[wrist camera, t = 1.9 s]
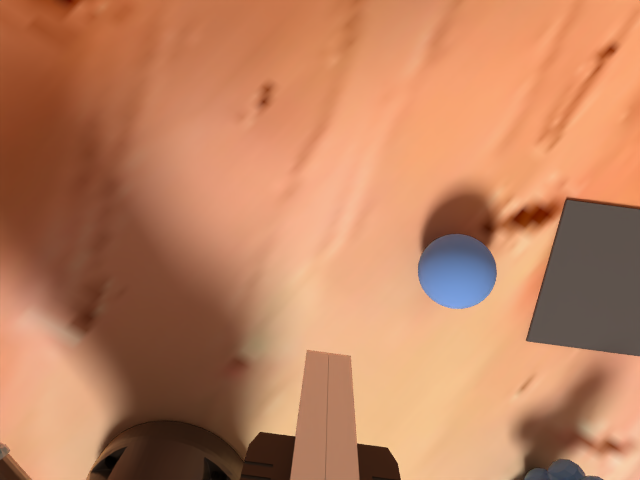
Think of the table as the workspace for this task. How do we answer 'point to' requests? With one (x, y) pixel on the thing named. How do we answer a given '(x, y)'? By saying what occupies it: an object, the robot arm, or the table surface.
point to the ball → (457, 271)
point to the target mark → (592, 281)
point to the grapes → (559, 472)
